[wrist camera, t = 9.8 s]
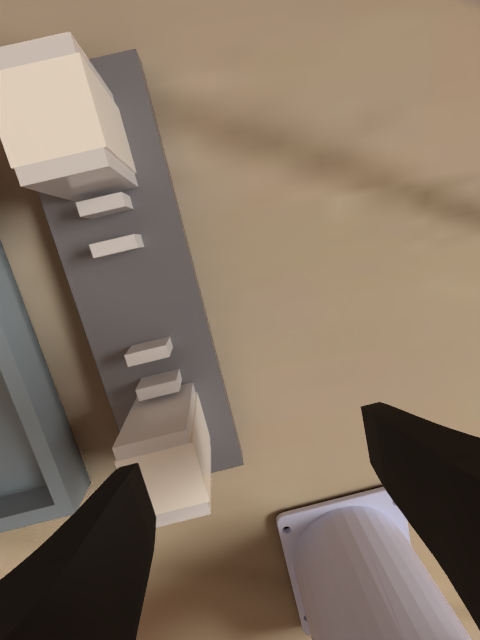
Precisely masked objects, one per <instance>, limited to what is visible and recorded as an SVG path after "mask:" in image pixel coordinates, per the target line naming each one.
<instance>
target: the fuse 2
mask: <svg viewBox="0 0 480 640" xmlns="http://www.w3.org/2000/svg"><path fill="white" fill-rule="evenodd" d="M112 450H113V453H114V456H115V461H114V463H115V466H116V469H118V468H119V467H122V466H126V465H130V464H134V463H138V464H139V467H140V470H141V473H142V476H143V479H144V482H145V485H146V488H147V491H148V494H149V496H150V499H151V502H152V505H153V508H154V511H155V514H156V528H158V527H162V526H165V525H169V524H173V523H177V522H181V521H185V520H189V519H193V518H197V517H201V516H205V515H209V514H211V446H210V435H209V432H208V428H207V424H206V421H205V417H204V414H203V410H202V406H201V403H200V399H199V396H198V392H195V388H194V385H193V382H191V383H187V384H183V385H181V387H180V391H179V392H175V393H171V394H167V395H163V396H159V397H155V398H151V399H147V400H143V401H139V400H138V397H136V399H135V401H134V404H133V406H132V408H131V410H130V412H129V414H128V416H127V418H126V420H125V422H124V424H123V426H122V429H121V431H120V433H119V435H118V437H117V439H116V441H115V443H114V445H113V447H112Z"/></svg>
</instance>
